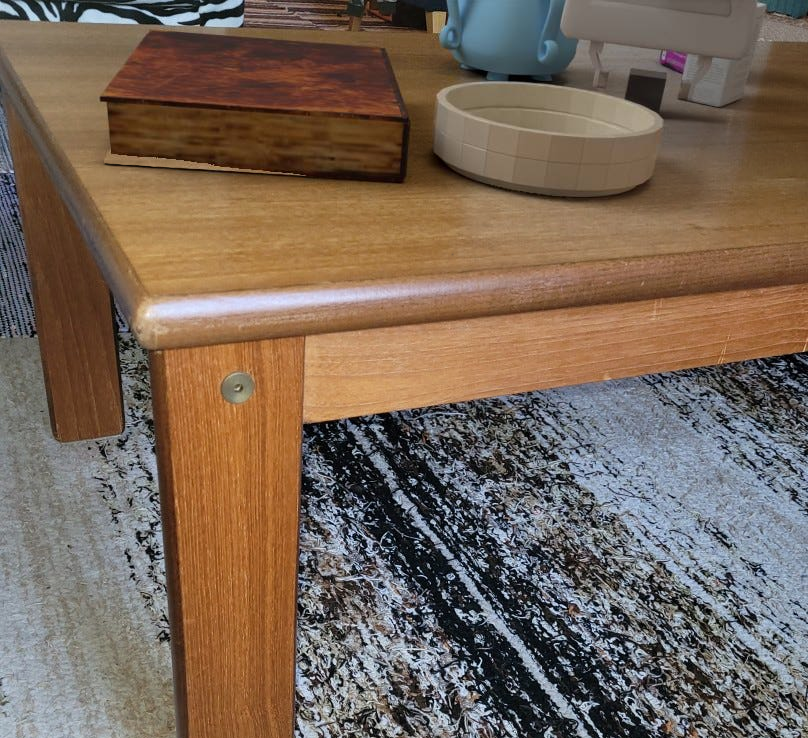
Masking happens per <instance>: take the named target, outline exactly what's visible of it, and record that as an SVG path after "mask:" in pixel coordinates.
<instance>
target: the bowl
mask: <svg viewBox="0 0 808 738" xmlns="http://www.w3.org/2000/svg"><path fill="white" fill-rule="evenodd" d="M433 117H434V118H433V126H432V127H433V128H432V138H431V147H432V151H433V153H434V154H435V155H436V156H437V157H439V159H441V160H442V161H443V163H444V164H445V165H446V166H447V167H448V168H450V169H451V170H452V171H454V172H456V173H458V174H459V175H461V176H464V177H466V178H468V179H470V180H473V181H476V182H478V183H482V184H486V185H489V184H490V186H493V185H495V186H494V187H496V186H498V187H497V188H500V187H503V188H502V189H505V188H507V189H506V190H509V189H511V191H514V190H517V191H516V192H520V191H525V192H524V193H526V192H532V193H531V194H533V193H538V194H537V195H540V194H545V195H544V196H550V195H552V196H551V197H563V196H565V197H566V198H595V197H606V196H612V195H617V194H622V193H625V192H628V191H631V190H632V189H635V188H636V187H637V186H638V185H642V184H644V183H645V182H647V181H648V180H650V179H651V178H652V177H653V174H654V170H655V166H656V160H657V156H658V152H659V147H660V142H661V139H662V134H663V129H664V119H663V118H662V117H661V115H660V114H659V115H658V114H657V113H656V112H654V111H652V110H650V109H648V108H646V107H644V106H642V105H639V104H636V103H633V102H631V101H628V100H625V98H623V97H618V96H614V95H610V94H606V93H602V92H597V91H593V90H587V89H581V88H577V87H569V86H563V85H555V84H548V83H538V82H537V83H536V82H526V81H525V82H524V81H493V80H490V81H474V82H472V81H471V82H466V83H457V84H454V85H450V86H447V87H444V88H442V89H440V91H438V93H436V97H435V107H434V116H433Z"/></svg>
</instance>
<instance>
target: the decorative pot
mask: <svg viewBox="0 0 808 738" xmlns="http://www.w3.org/2000/svg"><path fill="white" fill-rule="evenodd" d="M565 2H566V0H446V5H447V6H446V7H447V12H448V17H447V21H446V25H444V26H443V27H442V28H441V30H440V32H439V37H438V39H439V43H440V45H441V46H442V48H444V49H446V50H449V52H451V55H452V57H453V59H455V60H456V61H458V62H459V63H461V66H460V68H462V69H465V70H474V71H479V70H483V71H486V72H487V74H486V77H485V78H486V79H487V80H488V81H495V82H496V81H501V82H509V75H517V76H519V75H520V76H521V75H522V76H530V78H531V80H535V81H542V82H550V81H553V78H552V75H559V74H562V73H563V72H564V71H566V69H567V68H568V67H569V65H570V64H571V63H572V62H573V60H574V59H575V56H576V54H577V47H578V44H579V42H580V39H573V38H567V37H565V36H564V34H563V33H562V31H561V29H560V24H561V18H562V14H563V9H564V5H565Z"/></svg>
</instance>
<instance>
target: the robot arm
mask: <svg viewBox="0 0 808 738" xmlns="http://www.w3.org/2000/svg"><path fill="white" fill-rule="evenodd" d="M757 2H758V0H566V2H565V5H564V9H563V14H562V18H561V24H560V29H561V31H562V33H563V34H564V36H565V37H567V38H573V39H579V40H582V41H589V42H590V44H589V48H588V55H589V58H590V62H591V65H592V67H593V70H594V77H593V81H592V88H595V89H604V90H605V89H606V88H607V84H608V78H609V75H610V69H608V68H604V67H603V66H602V63H601V59H600V55H599V54H602V52H603V50H604V45H605V44H612V45H618V46H626V47H633V48H640V49H641V48H642V49H649V50H656V51H661V50H662V51H670V52H677V53H685V54H692V55H699V56H698V61H697V66H698V67H700V68H699V69H698V70H697V71H696V73H695V74H694V75H693V76H692V78H691V79H690V80H682V79H681V81H682V82H681V81H680V85H681V89H680V88H679V90H678V94H679V95H678V94H677V99H678V100H681V101H682V100H683V101H687V100H688V102H692V101H691V100H692V97H693V93H694V89H695V84H697V83H698V82H699V81H700V80H701V79H702V78H703V76H704V75H705V74H706V73H707V72H708V71H709V69H710V67H711V63H712V59H713V57H714V58H722V59H729V60H737V61H739V60H741V59H742V58H744V57H745V56H746V55H747V54H748V53H749V51H750V47H751V43H752V39H753V34H754V28H755V22H756V14H757Z"/></svg>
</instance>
